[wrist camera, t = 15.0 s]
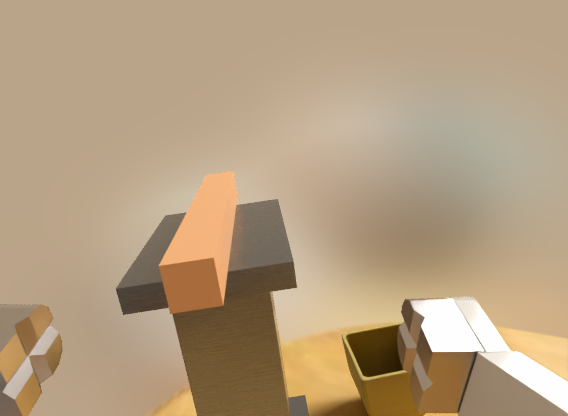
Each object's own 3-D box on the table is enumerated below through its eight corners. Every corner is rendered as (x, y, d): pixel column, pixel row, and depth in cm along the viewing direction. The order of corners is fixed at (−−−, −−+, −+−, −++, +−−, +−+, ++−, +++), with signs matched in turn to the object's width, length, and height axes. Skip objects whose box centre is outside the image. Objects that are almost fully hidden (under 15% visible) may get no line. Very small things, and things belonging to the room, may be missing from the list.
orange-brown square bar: (211, 200, 45) (206, 174, 44) (237, 196, 45) (233, 171, 44) (170, 314, 22) (158, 265, 21) (223, 305, 22) (213, 257, 21)
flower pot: (346, 389, 52) (340, 332, 50) (408, 377, 53) (406, 319, 50) (367, 446, 44) (361, 380, 41) (441, 430, 45) (441, 365, 42)
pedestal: (213, 423, 50) (165, 215, 41) (306, 407, 50) (277, 199, 42) (197, 571, 34) (115, 288, 26) (331, 546, 35) (293, 261, 27)
